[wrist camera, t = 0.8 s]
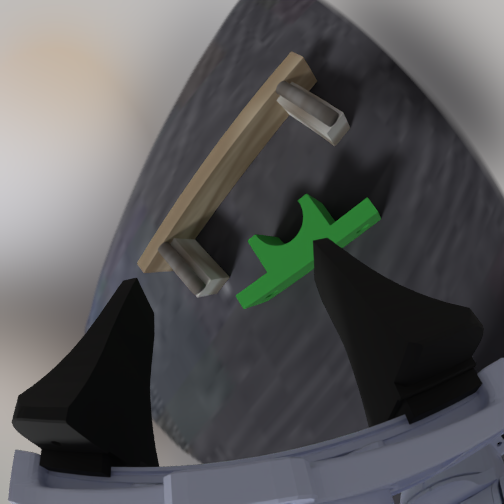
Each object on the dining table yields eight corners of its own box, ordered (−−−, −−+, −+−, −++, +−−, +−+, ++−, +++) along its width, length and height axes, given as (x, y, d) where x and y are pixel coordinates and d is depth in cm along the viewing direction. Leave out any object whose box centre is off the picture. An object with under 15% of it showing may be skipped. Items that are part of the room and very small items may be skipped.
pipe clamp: (352, 180, 23) (342, 164, 19) (381, 219, 22) (379, 211, 18) (244, 263, 27) (216, 265, 23) (268, 301, 26) (242, 309, 22)
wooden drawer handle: (364, 110, 22) (357, 85, 19) (204, 308, 29) (175, 316, 25) (306, 75, 24) (290, 50, 21) (165, 262, 31) (135, 263, 27)
